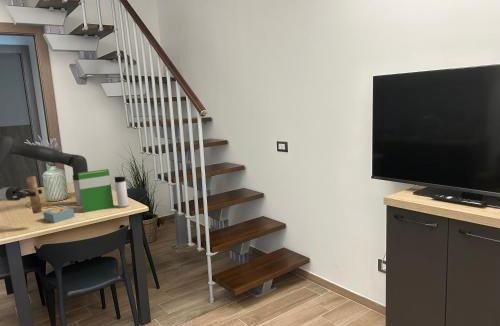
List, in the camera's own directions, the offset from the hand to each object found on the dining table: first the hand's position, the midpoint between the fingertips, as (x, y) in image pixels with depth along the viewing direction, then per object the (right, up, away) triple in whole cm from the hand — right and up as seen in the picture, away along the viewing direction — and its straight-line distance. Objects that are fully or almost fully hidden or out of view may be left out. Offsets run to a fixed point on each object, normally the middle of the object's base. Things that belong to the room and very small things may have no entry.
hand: (38, 192), depth 204 cm
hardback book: (+19, -13, +34) cm, 41 cm away
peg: (-2, -11, +2) cm, 11 cm away
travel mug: (+35, -12, +34) cm, 50 cm away
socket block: (+2, -17, +18) cm, 25 cm away
